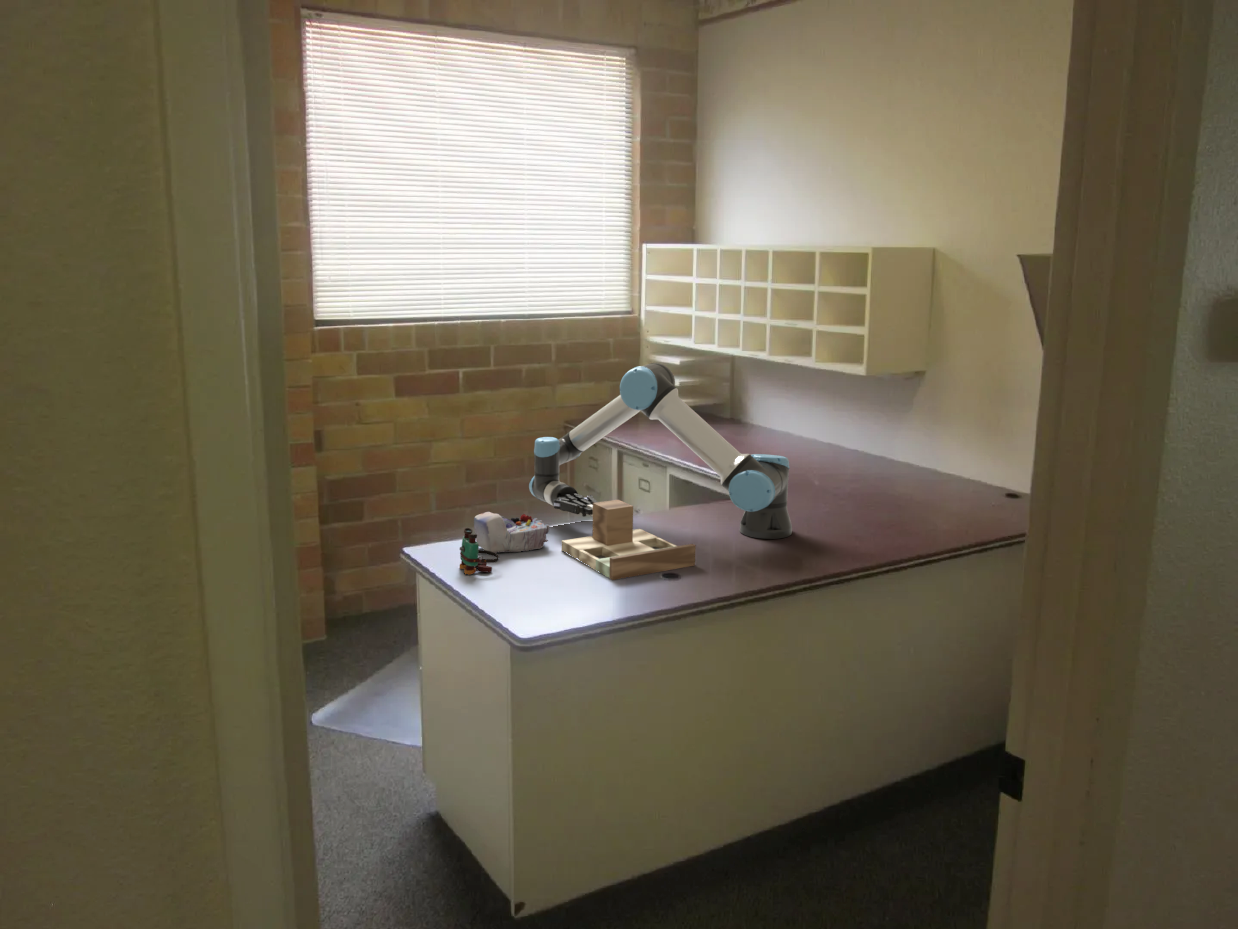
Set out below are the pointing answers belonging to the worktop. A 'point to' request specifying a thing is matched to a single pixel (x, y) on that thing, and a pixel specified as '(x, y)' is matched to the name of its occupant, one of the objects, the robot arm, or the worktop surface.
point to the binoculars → (474, 555)
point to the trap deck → (631, 555)
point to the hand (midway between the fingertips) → (600, 514)
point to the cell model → (509, 533)
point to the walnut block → (612, 522)
